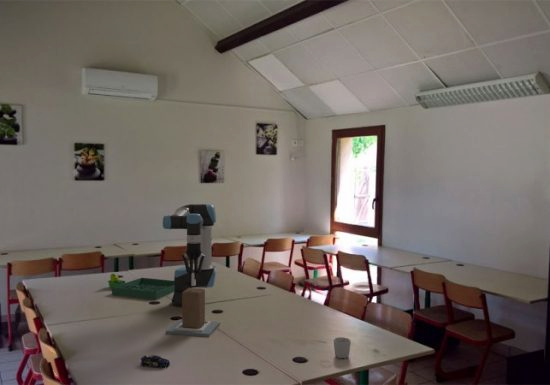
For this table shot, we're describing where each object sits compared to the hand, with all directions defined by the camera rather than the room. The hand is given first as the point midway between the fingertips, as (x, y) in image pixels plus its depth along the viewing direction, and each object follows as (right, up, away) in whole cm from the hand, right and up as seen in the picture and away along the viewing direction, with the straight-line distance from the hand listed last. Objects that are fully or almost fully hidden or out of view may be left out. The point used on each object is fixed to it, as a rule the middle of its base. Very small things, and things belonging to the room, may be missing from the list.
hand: (193, 285), depth 269 cm
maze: (-45, -20, +82) cm, 96 cm away
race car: (-9, -27, -48) cm, 56 cm away
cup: (+76, -27, -35) cm, 88 cm away
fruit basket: (-71, -19, +90) cm, 117 cm away
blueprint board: (0, -24, +1) cm, 24 cm away
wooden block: (0, -23, +1) cm, 23 cm away
